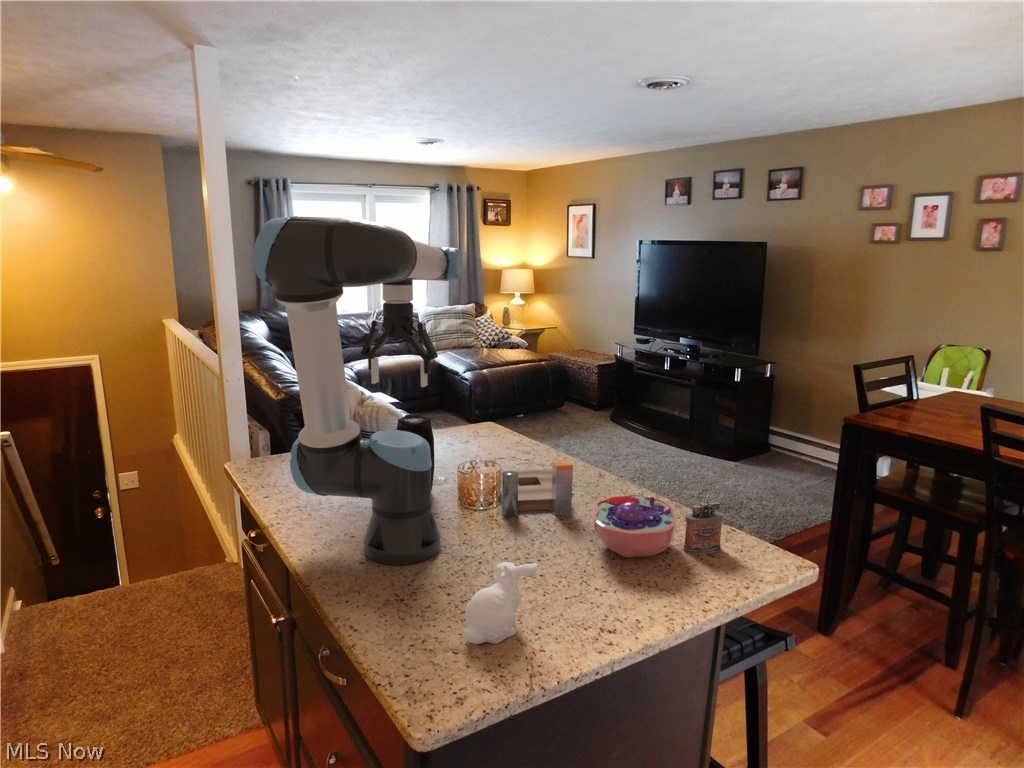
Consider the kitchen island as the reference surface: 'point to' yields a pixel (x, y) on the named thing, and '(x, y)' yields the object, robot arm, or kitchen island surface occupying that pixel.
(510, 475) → the round bit
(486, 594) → the rabbit
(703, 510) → the lighter
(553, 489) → the square bit
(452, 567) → the kitchen island surface
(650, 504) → the cell model
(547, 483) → the socket plate
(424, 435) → the portable speaker
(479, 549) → the kitchen island surface
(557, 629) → the kitchen island surface
